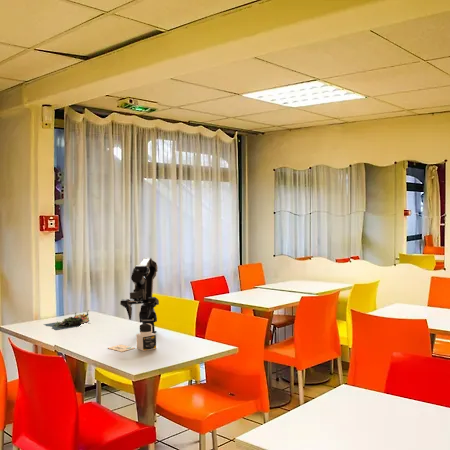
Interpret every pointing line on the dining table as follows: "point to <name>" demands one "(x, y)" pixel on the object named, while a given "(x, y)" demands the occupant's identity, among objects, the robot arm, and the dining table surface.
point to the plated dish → (70, 322)
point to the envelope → (121, 348)
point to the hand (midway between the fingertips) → (138, 318)
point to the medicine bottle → (146, 338)
